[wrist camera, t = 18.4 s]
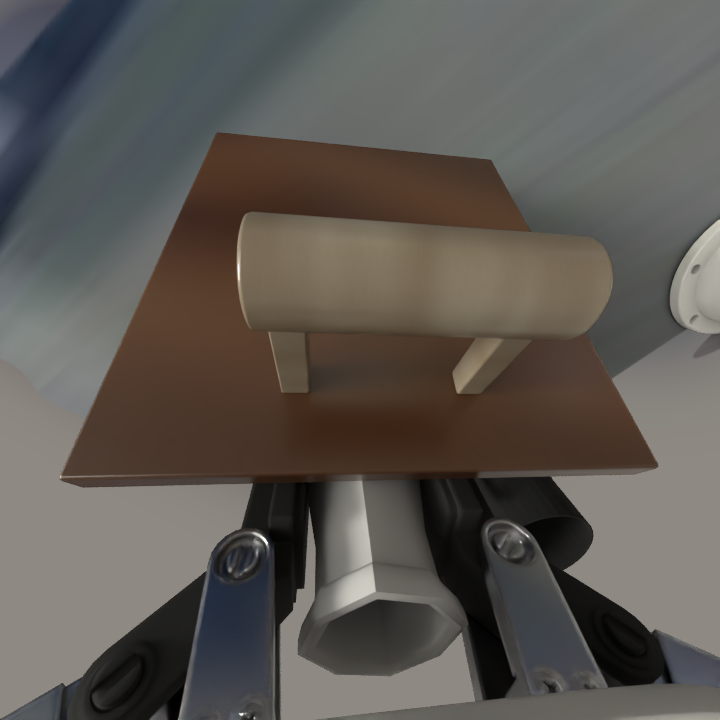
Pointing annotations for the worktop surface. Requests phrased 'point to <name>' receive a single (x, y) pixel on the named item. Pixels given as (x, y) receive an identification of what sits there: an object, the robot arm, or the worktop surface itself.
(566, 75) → the worktop surface
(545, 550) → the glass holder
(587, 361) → the lid
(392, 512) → the flask
